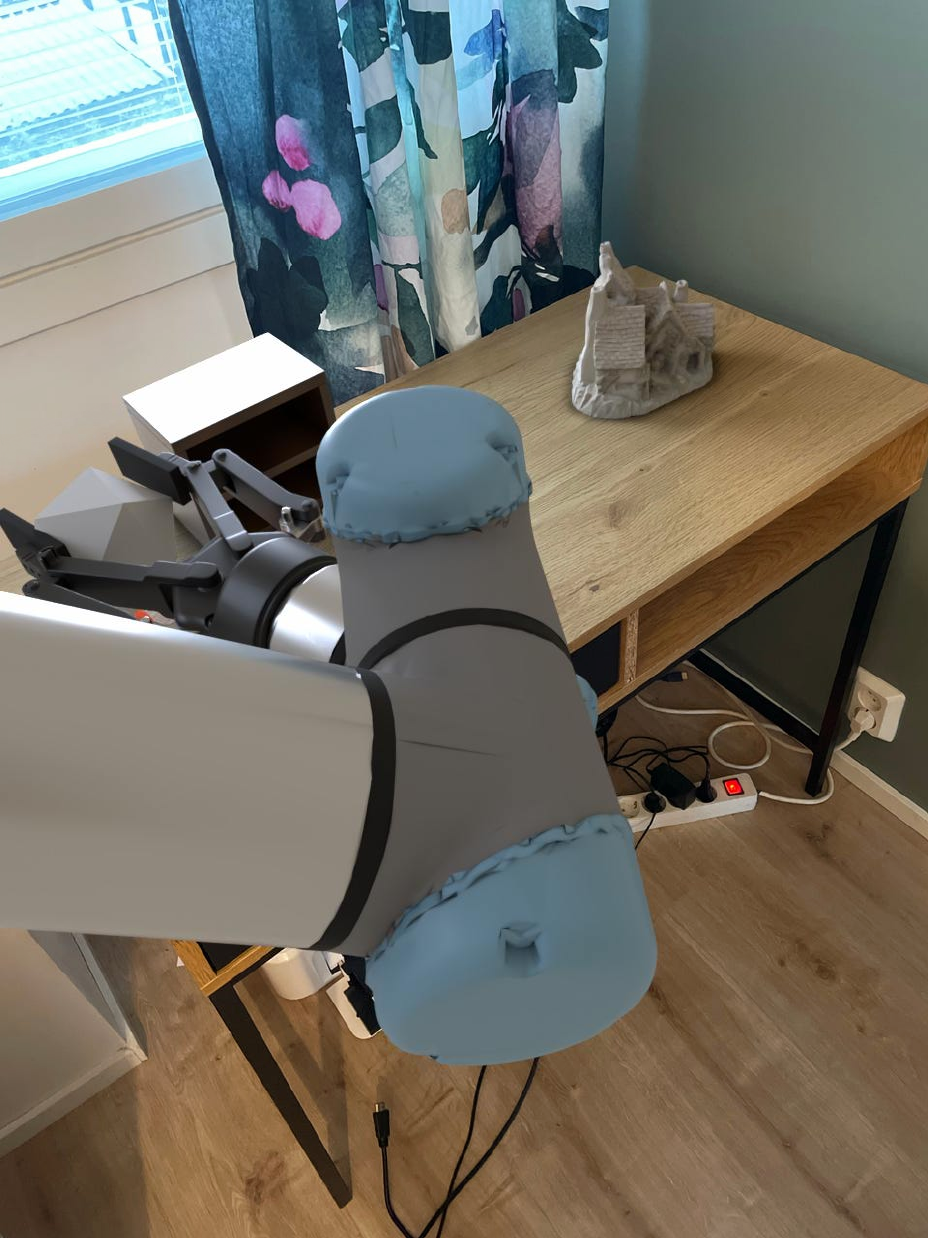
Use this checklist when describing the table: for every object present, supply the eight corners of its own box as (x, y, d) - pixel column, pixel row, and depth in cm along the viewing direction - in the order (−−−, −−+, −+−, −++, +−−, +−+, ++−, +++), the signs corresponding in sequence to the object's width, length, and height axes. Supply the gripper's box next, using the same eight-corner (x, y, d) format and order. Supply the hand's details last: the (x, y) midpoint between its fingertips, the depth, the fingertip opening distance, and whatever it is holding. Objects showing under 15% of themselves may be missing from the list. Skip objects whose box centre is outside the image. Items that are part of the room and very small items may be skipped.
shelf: (218, 562, 88) (170, 443, 78) (171, 512, 94) (121, 396, 84) (353, 489, 94) (325, 370, 84) (300, 447, 100) (267, 332, 90)
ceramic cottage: (557, 413, 99) (564, 281, 89) (587, 343, 110) (596, 218, 100) (700, 433, 96) (725, 297, 85) (716, 358, 107) (740, 230, 96)
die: (224, 602, 59) (189, 449, 57) (107, 634, 51) (64, 459, 50) (141, 612, 63) (108, 471, 62) (24, 642, 56) (-18, 483, 55)
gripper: (187, 808, 44) (-49, 629, 55) (447, 564, 55) (205, 455, 66) (131, 714, 39) (-118, 537, 50) (431, 464, 49) (170, 363, 60)
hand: (66, 490), depth 58 cm, fingers closed on die, 8 cm apart
